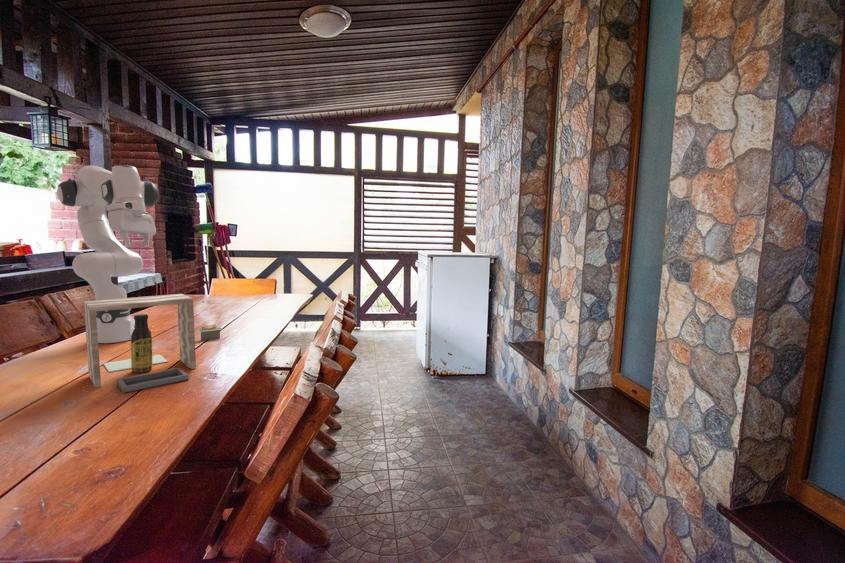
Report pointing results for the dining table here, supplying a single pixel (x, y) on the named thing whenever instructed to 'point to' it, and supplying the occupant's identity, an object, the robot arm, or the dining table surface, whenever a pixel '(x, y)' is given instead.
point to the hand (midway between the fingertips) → (137, 245)
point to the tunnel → (135, 302)
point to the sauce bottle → (141, 345)
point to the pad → (127, 363)
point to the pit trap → (151, 380)
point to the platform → (210, 332)
